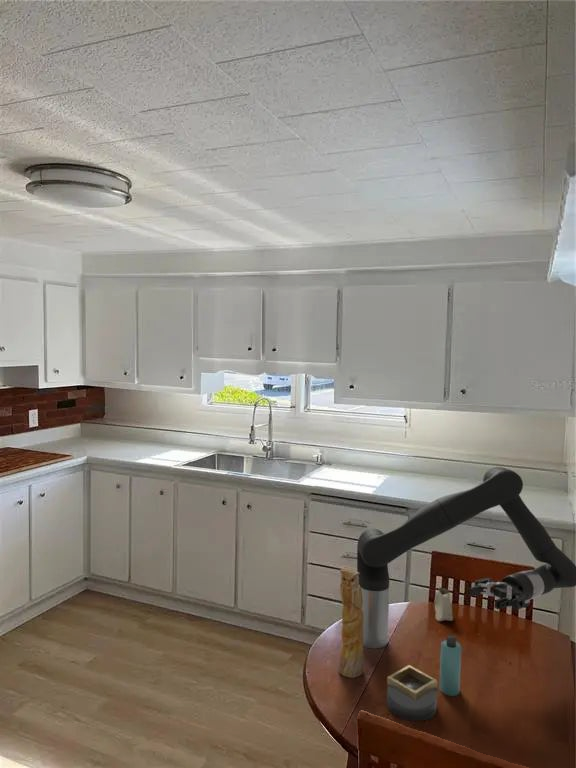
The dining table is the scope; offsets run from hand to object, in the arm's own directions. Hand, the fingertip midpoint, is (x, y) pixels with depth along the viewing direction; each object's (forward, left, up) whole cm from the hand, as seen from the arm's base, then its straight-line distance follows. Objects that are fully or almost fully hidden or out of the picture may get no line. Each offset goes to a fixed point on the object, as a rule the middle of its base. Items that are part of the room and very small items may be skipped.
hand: (482, 598), depth 154 cm
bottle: (-2, -11, -22) cm, 25 cm away
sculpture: (-23, -26, -22) cm, 41 cm away
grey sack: (-27, +22, -22) cm, 41 cm away
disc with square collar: (-4, -24, -22) cm, 33 cm away
